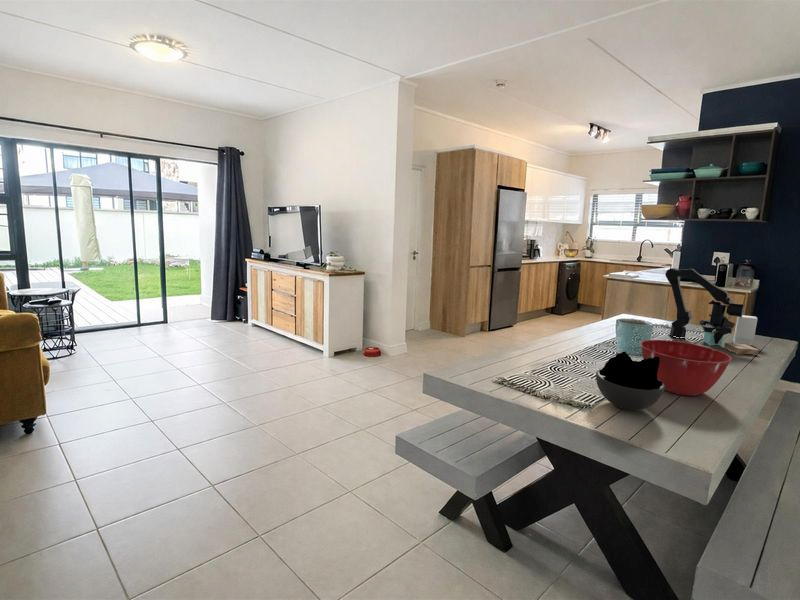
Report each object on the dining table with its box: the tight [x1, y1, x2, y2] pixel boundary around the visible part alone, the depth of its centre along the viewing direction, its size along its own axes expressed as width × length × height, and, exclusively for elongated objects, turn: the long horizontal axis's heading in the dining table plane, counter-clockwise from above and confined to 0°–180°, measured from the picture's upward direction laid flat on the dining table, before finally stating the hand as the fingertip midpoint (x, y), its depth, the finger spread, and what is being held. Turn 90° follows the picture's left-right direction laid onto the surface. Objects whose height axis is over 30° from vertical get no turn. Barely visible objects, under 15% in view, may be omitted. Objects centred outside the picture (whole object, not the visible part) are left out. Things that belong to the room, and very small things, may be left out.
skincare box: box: [732, 315, 758, 346], centre depth 236 cm, size 8×7×16 cm
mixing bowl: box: [640, 339, 733, 397], centre depth 162 cm, size 28×28×15 cm
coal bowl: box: [595, 351, 665, 411], centre depth 142 cm, size 20×20×19 cm
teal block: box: [702, 331, 724, 346], centre depth 233 cm, size 6×6×6 cm
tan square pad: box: [723, 342, 760, 356], centre depth 220 cm, size 10×10×3 cm
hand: (712, 341), depth 233 cm, fingers open, 7 cm apart
